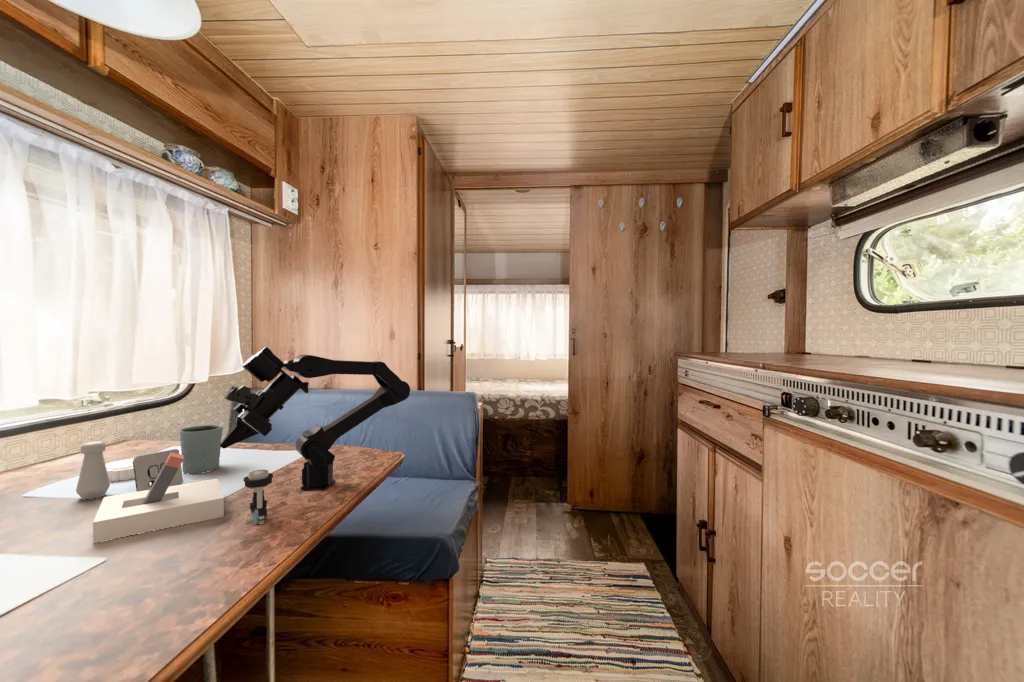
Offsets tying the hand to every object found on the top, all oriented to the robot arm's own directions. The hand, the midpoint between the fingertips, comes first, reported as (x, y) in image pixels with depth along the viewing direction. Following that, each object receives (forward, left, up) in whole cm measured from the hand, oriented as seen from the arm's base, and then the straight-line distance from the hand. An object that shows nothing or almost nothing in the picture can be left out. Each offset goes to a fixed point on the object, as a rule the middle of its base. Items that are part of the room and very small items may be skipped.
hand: (221, 447), depth 98 cm
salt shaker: (+34, -5, -13) cm, 37 cm away
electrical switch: (+24, -11, -13) cm, 29 cm away
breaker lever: (+10, +8, -10) cm, 16 cm away
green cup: (+24, -27, -13) cm, 38 cm away
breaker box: (+8, +6, -13) cm, 17 cm away
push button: (-13, +9, -13) cm, 21 cm away
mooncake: (+41, -22, -14) cm, 48 cm away
